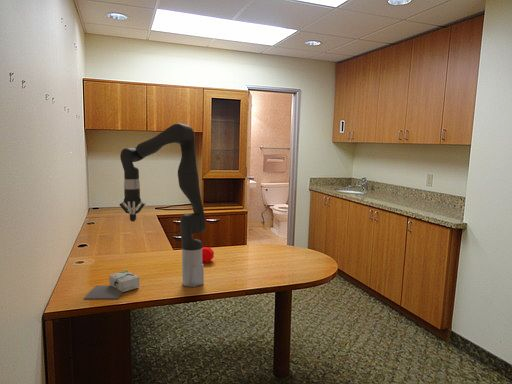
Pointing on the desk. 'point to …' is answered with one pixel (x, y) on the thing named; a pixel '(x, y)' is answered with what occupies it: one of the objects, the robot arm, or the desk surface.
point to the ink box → (124, 281)
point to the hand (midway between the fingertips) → (133, 221)
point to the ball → (207, 254)
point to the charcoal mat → (104, 293)
